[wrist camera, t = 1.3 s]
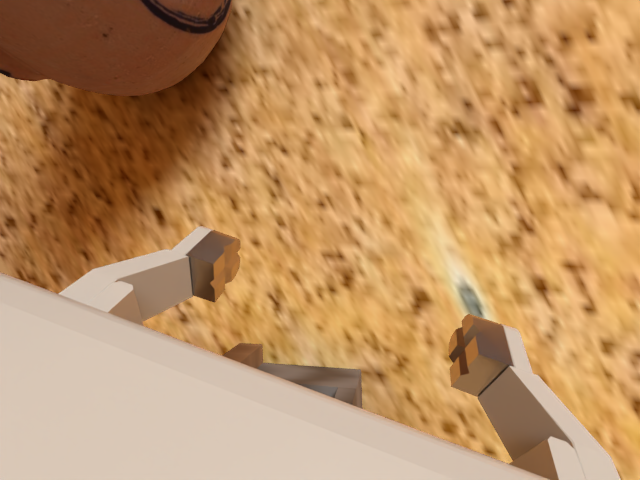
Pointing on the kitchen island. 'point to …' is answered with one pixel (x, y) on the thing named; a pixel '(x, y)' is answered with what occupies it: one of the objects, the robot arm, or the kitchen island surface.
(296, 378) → the wall board
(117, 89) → the ceramic pitcher
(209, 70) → the kitchen island surface
